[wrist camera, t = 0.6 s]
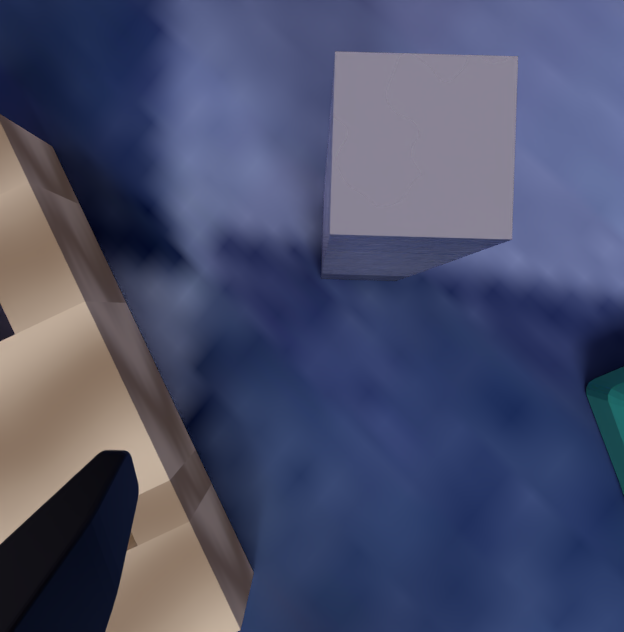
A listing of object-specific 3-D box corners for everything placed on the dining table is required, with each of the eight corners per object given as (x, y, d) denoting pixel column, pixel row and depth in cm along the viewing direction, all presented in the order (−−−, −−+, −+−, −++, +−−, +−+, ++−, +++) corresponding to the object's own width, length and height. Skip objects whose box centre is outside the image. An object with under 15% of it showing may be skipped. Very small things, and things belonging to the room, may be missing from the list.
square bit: (396, 281, 22) (511, 239, 9) (320, 278, 22) (329, 234, 9) (398, 205, 22) (518, 55, 9) (322, 203, 22) (335, 51, 9)
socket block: (253, 572, 22) (240, 629, 18) (42, 670, 22) (-17, 748, 18) (52, 146, 22) (-6, 110, 18) (-160, 247, 22) (-264, 233, 18)
